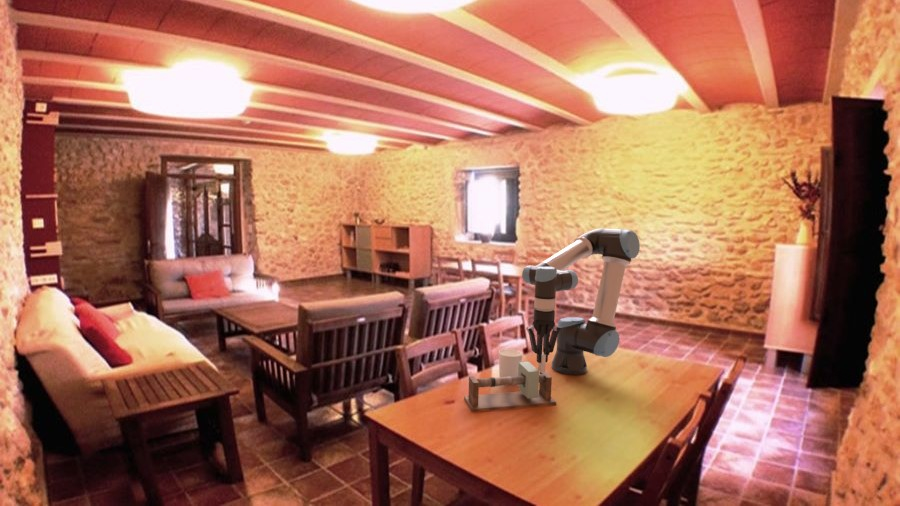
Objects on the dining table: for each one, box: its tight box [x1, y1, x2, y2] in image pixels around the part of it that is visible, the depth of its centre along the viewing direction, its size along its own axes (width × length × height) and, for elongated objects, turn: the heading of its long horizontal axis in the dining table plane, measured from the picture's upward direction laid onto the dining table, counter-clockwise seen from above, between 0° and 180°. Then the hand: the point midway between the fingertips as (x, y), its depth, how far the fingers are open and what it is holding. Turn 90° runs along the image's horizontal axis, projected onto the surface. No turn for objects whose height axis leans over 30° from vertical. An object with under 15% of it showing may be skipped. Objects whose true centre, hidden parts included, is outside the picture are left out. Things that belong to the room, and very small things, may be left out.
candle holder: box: [498, 348, 524, 377], centre depth 185 cm, size 10×10×12 cm
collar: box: [517, 361, 540, 398], centre depth 166 cm, size 4×10×10 cm, turn 13°
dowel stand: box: [463, 371, 557, 413], centre depth 165 cm, size 32×11×10 cm, turn 103°
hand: (541, 370), depth 167 cm, fingers closed
